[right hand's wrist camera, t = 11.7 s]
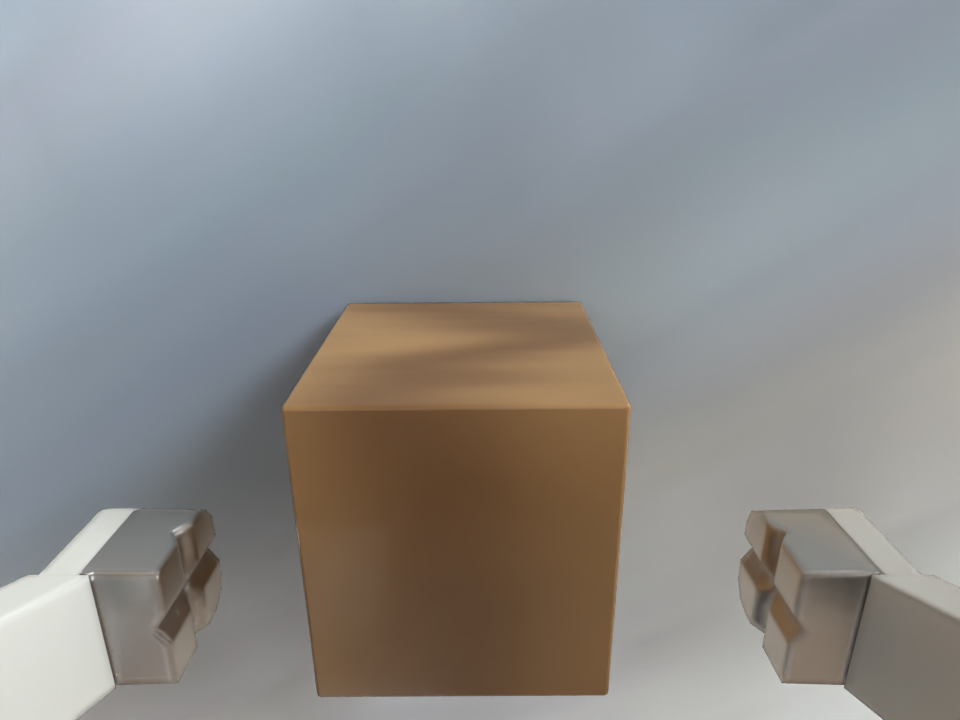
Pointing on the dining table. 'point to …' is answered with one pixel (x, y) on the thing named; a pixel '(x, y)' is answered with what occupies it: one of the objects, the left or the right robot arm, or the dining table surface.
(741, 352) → the dining table surface
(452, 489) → the block
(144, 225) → the dining table surface
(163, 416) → the dining table surface
